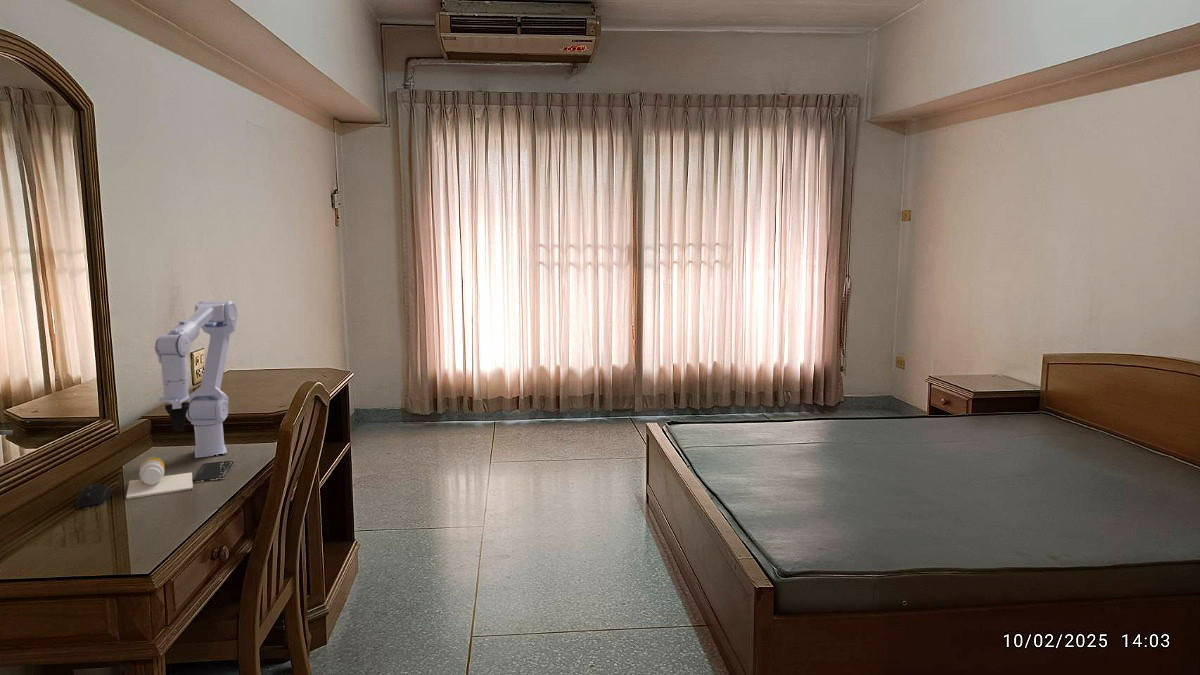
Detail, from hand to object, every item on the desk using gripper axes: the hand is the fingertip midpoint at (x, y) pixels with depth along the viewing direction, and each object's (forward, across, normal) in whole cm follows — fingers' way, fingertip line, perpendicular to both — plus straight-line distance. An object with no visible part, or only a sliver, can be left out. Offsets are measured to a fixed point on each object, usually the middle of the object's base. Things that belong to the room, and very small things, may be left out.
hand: (179, 431), depth 210 cm
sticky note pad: (+11, +13, -5) cm, 18 cm away
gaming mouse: (+11, +18, -19) cm, 29 cm away
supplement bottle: (+7, +5, -7) cm, 11 cm away
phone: (+11, +7, +7) cm, 15 cm away
